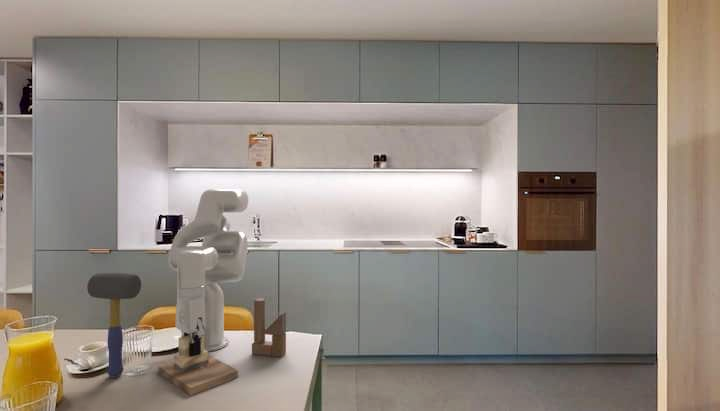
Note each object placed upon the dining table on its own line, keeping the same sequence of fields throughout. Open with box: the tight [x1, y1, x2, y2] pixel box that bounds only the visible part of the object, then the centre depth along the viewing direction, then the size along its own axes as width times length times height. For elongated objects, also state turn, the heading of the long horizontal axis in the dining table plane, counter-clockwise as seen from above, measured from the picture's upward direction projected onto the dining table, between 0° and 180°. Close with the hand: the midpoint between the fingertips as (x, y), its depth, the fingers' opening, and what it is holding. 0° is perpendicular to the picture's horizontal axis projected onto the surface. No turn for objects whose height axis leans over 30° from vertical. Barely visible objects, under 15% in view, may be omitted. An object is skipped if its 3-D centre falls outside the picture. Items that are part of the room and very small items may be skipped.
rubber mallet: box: [86, 272, 142, 378], centre depth 113 cm, size 12×8×30 cm, turn 84°
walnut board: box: [157, 354, 239, 396], centre depth 115 cm, size 20×14×2 cm
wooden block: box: [251, 297, 287, 358], centre depth 130 cm, size 4×11×18 cm, turn 78°
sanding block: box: [173, 334, 209, 372], centre depth 116 cm, size 8×5×9 cm, turn 139°
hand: (191, 352), depth 116 cm, fingers closed on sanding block, 3 cm apart
